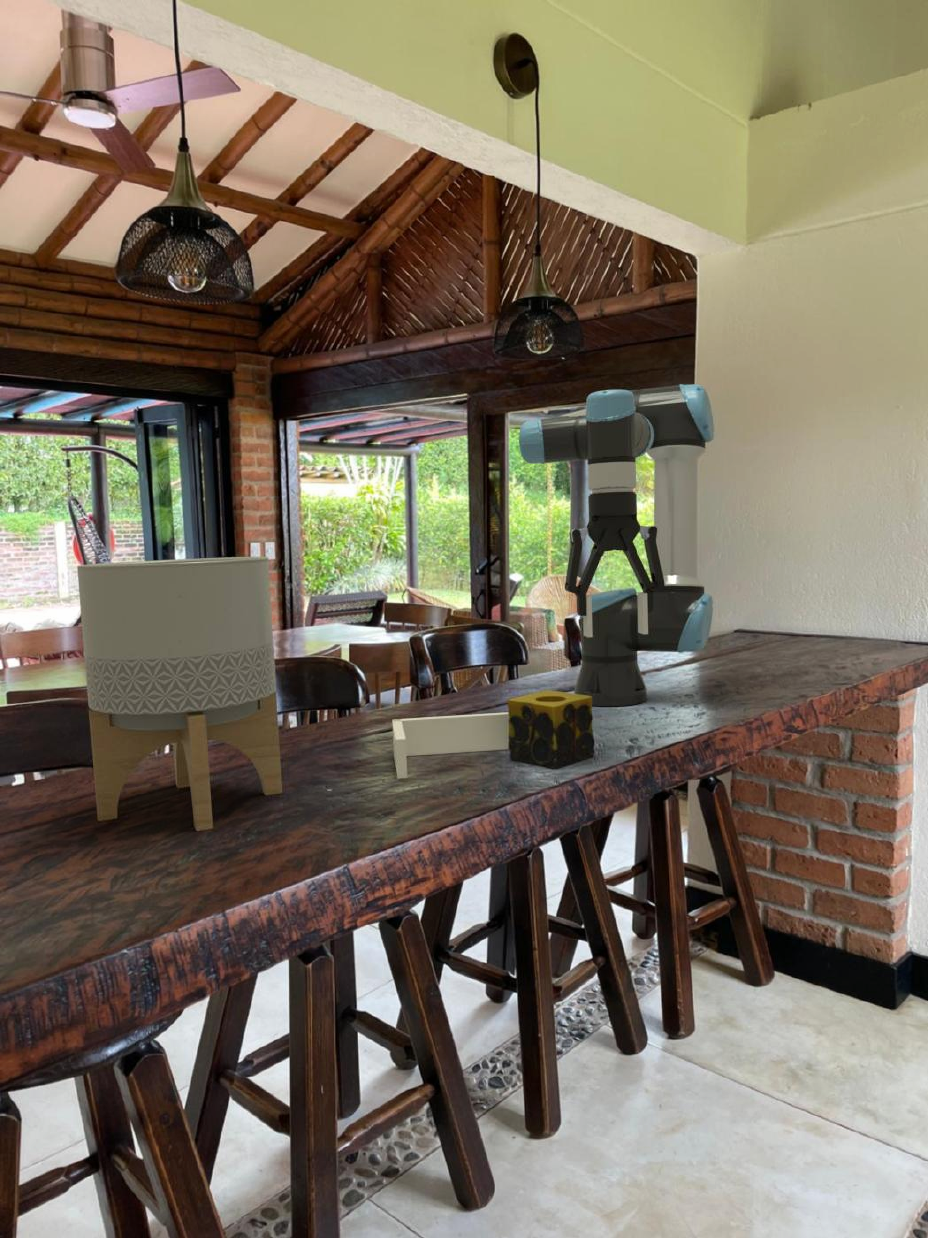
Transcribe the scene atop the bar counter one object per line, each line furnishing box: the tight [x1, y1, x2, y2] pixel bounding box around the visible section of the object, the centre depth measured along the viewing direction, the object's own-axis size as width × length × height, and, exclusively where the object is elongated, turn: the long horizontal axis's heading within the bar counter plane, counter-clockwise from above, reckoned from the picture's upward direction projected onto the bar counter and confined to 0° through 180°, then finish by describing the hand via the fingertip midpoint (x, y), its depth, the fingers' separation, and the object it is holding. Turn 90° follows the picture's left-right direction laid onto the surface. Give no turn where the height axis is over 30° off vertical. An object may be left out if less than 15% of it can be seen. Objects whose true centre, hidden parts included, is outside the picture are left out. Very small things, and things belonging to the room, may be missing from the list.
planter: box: [76, 556, 283, 832], centre depth 125 cm, size 25×25×34 cm
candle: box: [507, 689, 595, 769], centre depth 144 cm, size 10×10×10 cm
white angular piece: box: [391, 711, 509, 780], centre depth 144 cm, size 20×15×6 cm
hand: (615, 634), depth 144 cm, fingers open, 8 cm apart
